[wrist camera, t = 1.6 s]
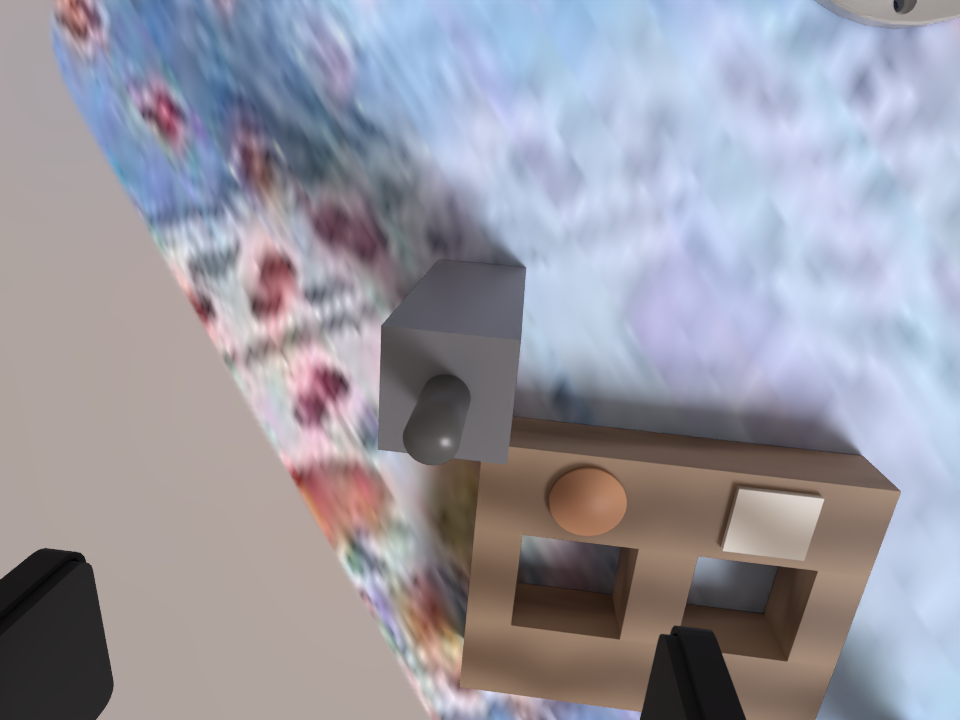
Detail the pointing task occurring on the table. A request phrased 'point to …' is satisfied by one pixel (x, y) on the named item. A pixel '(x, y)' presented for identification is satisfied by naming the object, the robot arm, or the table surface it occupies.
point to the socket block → (669, 562)
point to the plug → (452, 364)
